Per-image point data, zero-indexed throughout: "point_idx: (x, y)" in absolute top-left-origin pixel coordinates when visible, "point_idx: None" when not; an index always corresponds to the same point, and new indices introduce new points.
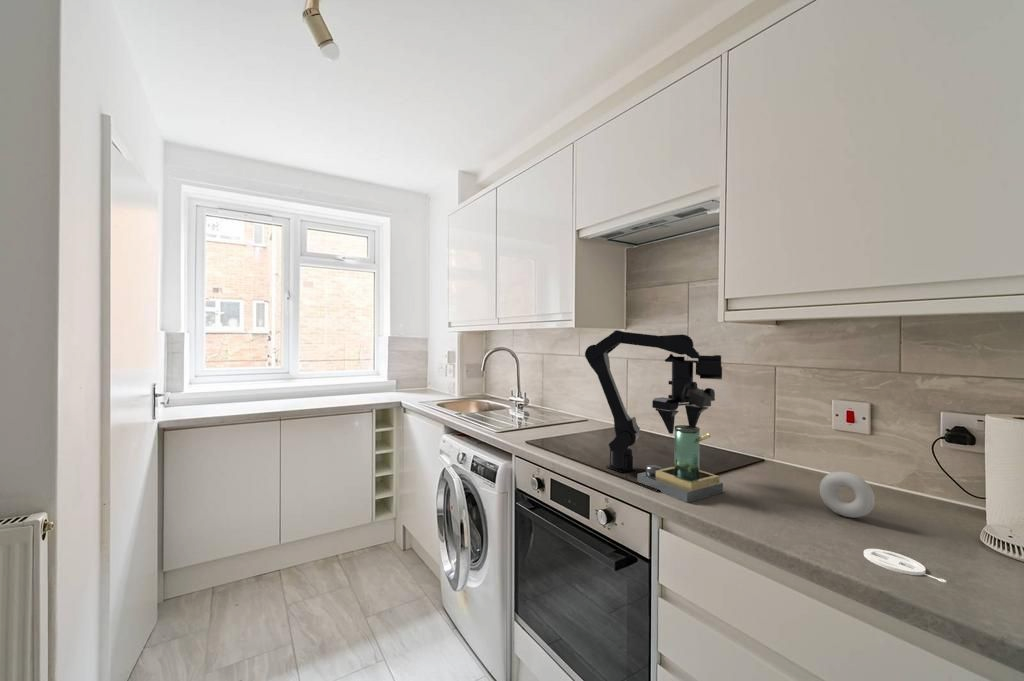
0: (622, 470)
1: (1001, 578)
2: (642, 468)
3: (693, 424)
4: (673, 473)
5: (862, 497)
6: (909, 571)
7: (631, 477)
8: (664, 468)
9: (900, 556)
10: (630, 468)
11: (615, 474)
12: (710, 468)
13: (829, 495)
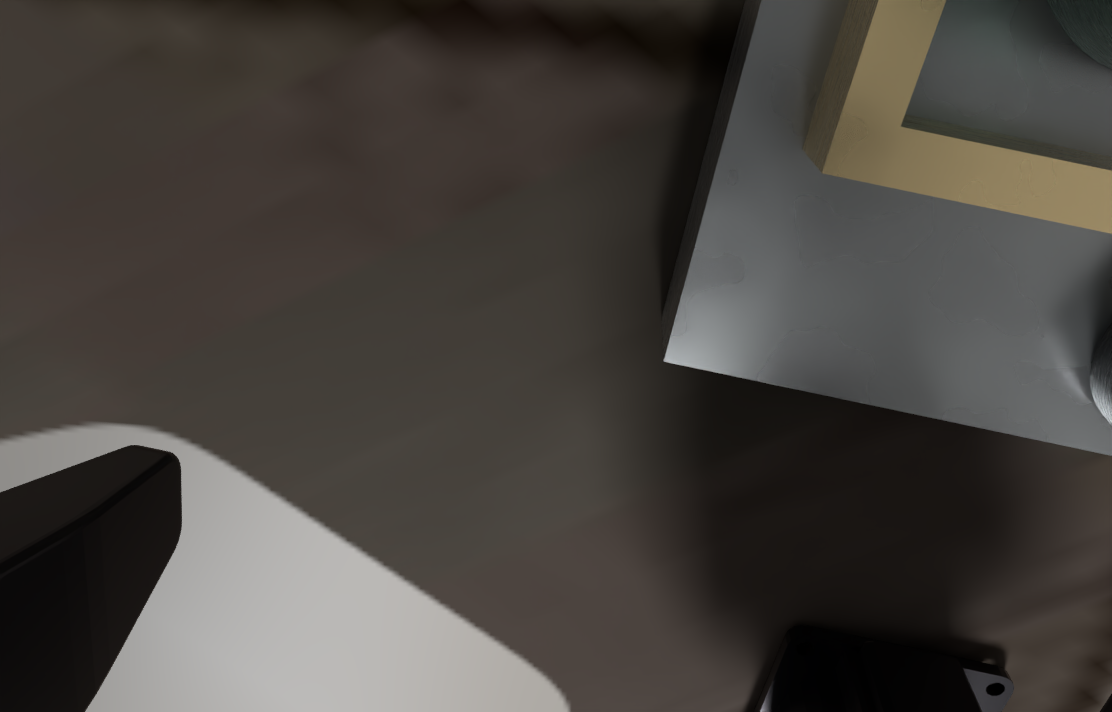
0: (976, 681)
1: None
2: (680, 605)
3: (48, 585)
4: (1110, 160)
5: None
6: None
7: (1067, 549)
8: (823, 383)
9: None
10: (906, 654)
11: (1076, 678)
12: (16, 132)
13: None
